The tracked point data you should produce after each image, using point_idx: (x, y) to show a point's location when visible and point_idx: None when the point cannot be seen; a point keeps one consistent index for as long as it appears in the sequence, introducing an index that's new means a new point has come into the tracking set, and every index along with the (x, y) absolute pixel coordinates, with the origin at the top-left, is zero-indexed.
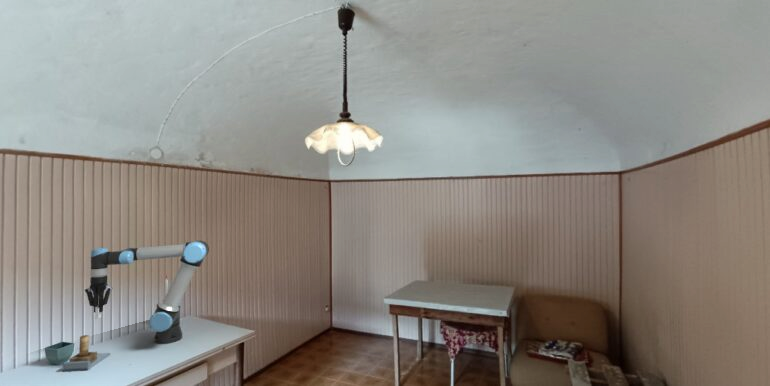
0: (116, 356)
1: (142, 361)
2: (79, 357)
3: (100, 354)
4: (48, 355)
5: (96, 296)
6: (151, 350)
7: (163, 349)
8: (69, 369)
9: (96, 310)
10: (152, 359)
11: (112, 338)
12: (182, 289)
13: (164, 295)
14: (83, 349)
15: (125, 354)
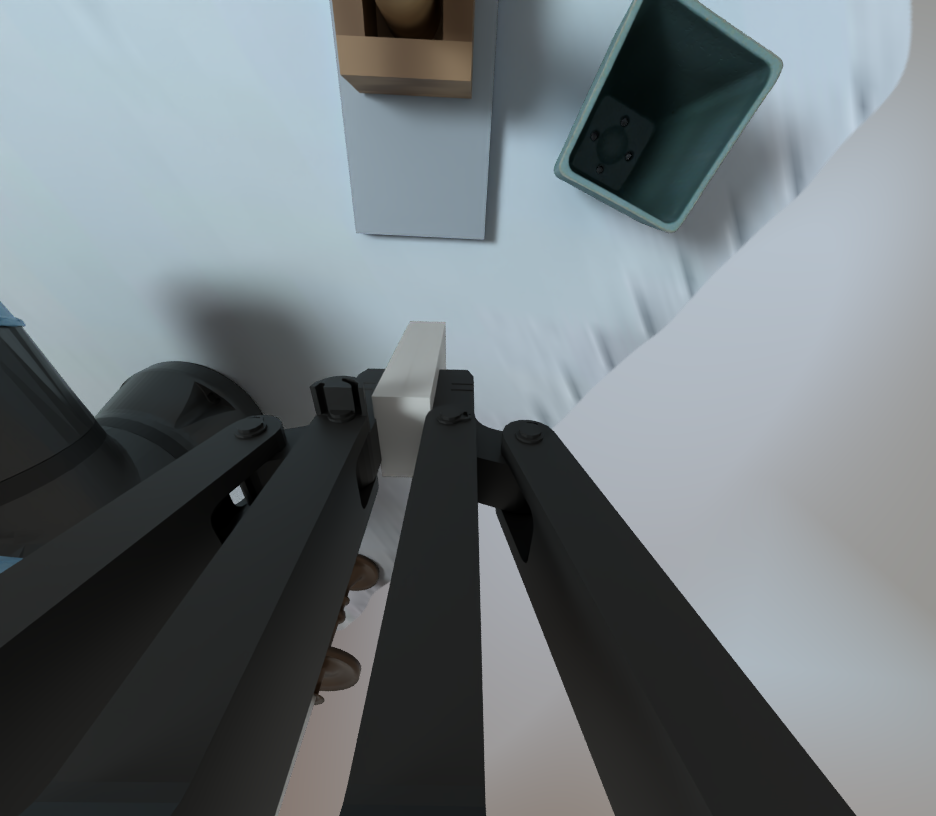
0: (304, 197)
1: (41, 45)
2: None
3: (399, 211)
4: (701, 69)
5: (378, 685)
6: (161, 269)
7: (101, 273)
8: None
9: (417, 366)
10: (4, 80)
11: None
12: None
13: (301, 734)
14: None
15: (271, 225)
